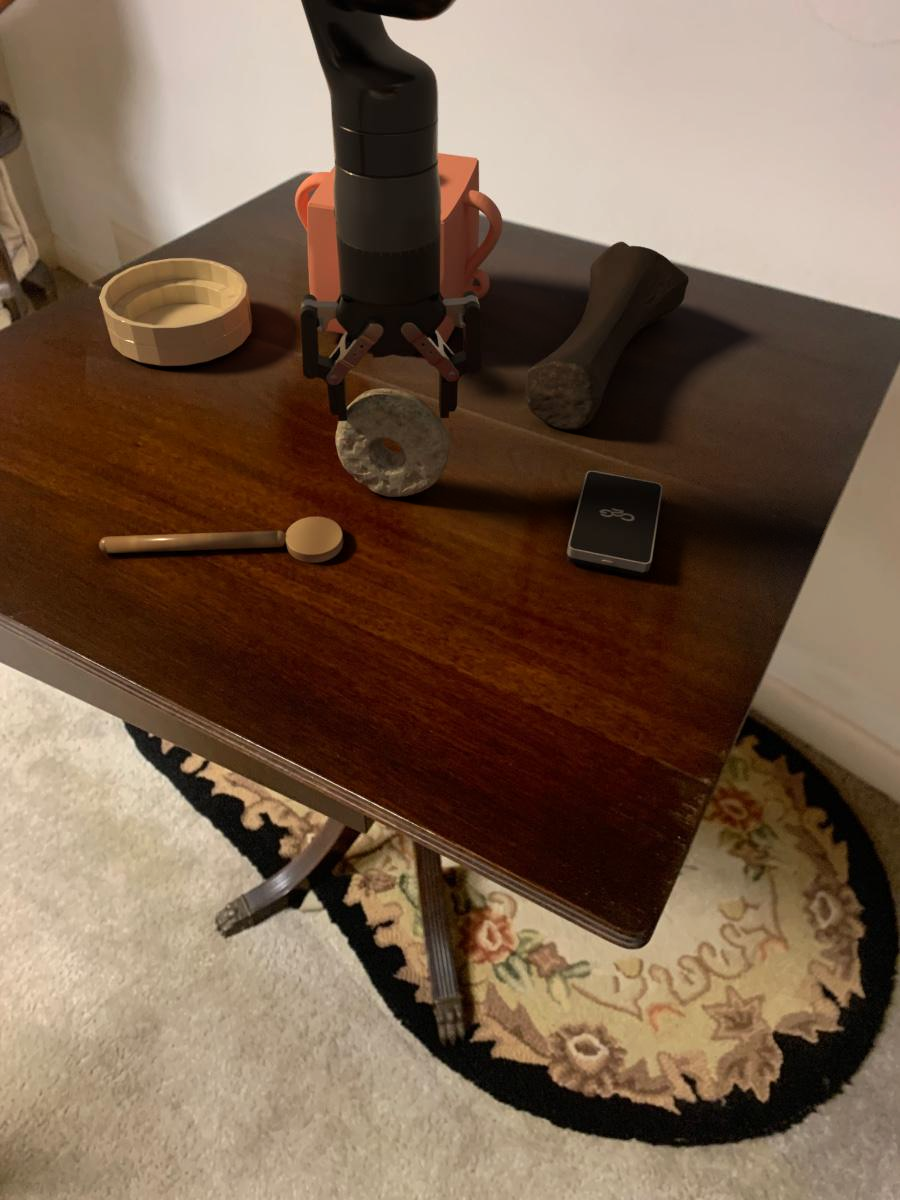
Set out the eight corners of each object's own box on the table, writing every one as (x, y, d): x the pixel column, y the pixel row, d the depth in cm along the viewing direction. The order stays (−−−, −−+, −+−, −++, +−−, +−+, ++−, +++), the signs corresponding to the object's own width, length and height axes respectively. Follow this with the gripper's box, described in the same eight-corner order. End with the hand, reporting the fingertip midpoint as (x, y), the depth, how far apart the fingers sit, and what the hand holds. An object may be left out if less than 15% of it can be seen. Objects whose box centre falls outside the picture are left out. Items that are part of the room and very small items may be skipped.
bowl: (100, 372, 92) (87, 328, 89) (123, 300, 103) (113, 258, 99) (247, 369, 94) (241, 326, 90) (256, 298, 104) (250, 257, 100)
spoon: (96, 571, 72) (91, 559, 71) (106, 532, 76) (102, 519, 75) (343, 562, 74) (342, 549, 73) (343, 523, 77) (342, 511, 76)
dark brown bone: (619, 316, 108) (536, 464, 93) (588, 237, 102) (494, 381, 87) (705, 297, 101) (631, 453, 86) (678, 211, 95) (593, 362, 80)
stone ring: (334, 488, 81) (326, 394, 73) (348, 466, 83) (342, 372, 76) (440, 512, 79) (442, 418, 72) (451, 488, 81) (455, 395, 74)
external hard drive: (658, 500, 81) (663, 483, 79) (645, 583, 73) (650, 566, 72) (583, 486, 82) (586, 469, 80) (563, 566, 75) (566, 549, 73)
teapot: (464, 406, 90) (474, 234, 77) (255, 373, 93) (230, 201, 80) (507, 291, 107) (521, 134, 94) (329, 266, 110) (318, 110, 97)
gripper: (285, 250, 60) (308, 444, 72) (493, 246, 61) (482, 438, 73) (289, 204, 65) (310, 392, 77) (481, 201, 66) (472, 387, 78)
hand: (394, 414), depth 75 cm, fingers closed on stone ring, 8 cm apart
